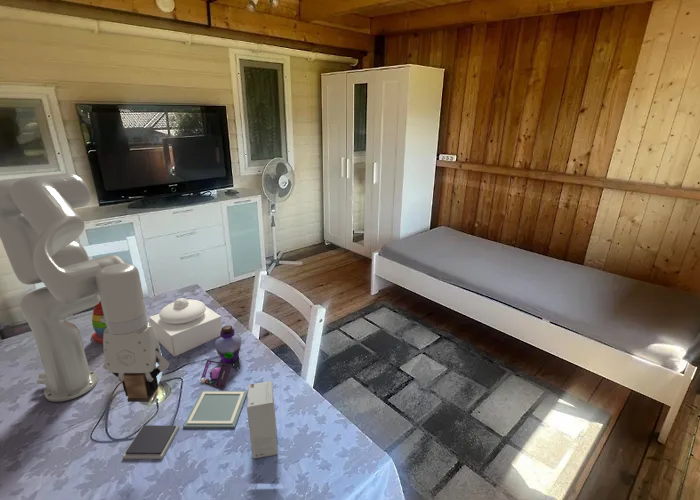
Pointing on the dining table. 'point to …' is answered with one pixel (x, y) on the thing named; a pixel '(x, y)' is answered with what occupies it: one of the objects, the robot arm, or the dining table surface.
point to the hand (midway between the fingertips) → (142, 391)
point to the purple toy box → (216, 374)
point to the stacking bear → (98, 323)
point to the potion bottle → (228, 345)
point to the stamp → (136, 387)
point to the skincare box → (262, 419)
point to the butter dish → (185, 325)
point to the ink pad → (151, 442)
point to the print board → (216, 409)
